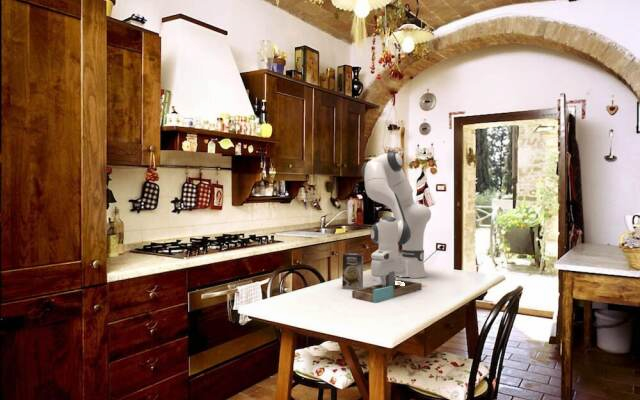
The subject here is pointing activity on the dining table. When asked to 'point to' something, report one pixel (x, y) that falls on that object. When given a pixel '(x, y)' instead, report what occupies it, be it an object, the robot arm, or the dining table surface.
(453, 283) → the dining table surface
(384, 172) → the robot arm
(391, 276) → the tall grey block
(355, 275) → the coffee box
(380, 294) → the rack
